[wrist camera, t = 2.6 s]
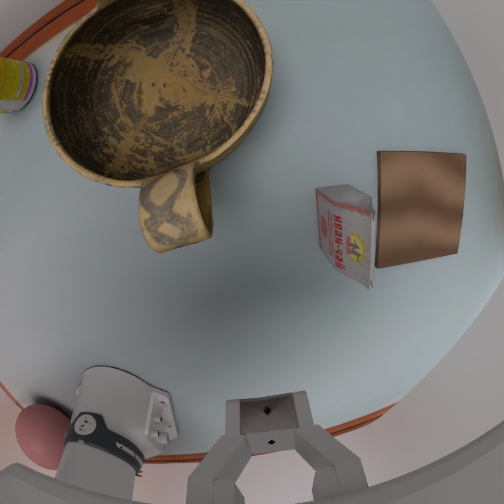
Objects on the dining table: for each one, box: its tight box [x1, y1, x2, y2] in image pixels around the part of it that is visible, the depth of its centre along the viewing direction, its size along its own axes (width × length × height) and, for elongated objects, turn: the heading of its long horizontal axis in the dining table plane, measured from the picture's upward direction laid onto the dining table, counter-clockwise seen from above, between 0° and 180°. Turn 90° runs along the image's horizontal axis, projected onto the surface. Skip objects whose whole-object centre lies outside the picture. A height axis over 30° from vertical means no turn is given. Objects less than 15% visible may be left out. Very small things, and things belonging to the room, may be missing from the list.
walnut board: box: [375, 151, 466, 269], centre depth 30 cm, size 14×14×1 cm
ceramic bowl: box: [42, 0, 273, 253], centre depth 17 cm, size 22×17×15 cm
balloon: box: [15, 404, 71, 470], centre depth 38 cm, size 15×20×15 cm
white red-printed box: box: [316, 184, 375, 289], centre depth 26 cm, size 4×7×10 cm, turn 8°
